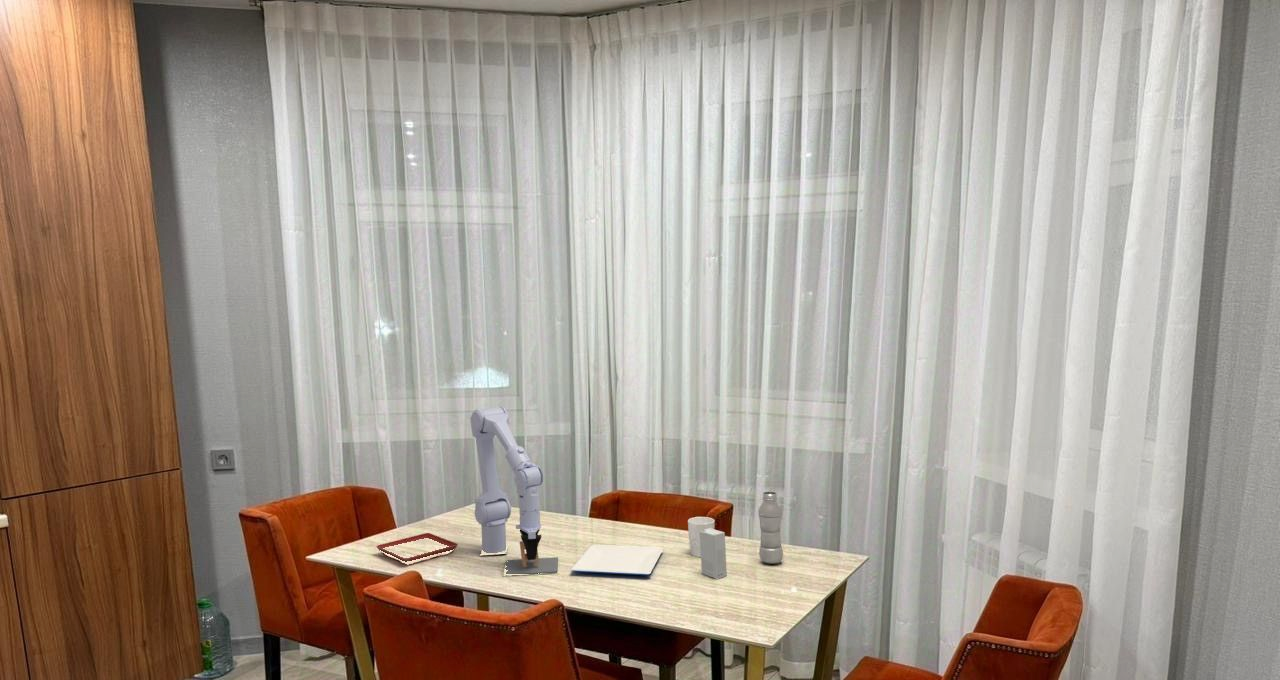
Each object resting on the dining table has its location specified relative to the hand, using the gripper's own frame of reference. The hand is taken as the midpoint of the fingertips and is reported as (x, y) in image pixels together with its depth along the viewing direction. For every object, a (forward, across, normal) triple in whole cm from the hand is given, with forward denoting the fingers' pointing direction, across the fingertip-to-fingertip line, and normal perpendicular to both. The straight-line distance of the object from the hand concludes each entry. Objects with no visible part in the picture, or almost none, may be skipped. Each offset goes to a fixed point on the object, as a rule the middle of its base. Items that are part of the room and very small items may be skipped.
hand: (531, 556), depth 214 cm
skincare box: (+3, +20, +48) cm, 52 cm away
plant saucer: (+4, -22, -33) cm, 40 cm away
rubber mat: (+3, 0, 0) cm, 3 cm away
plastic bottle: (+3, +15, +67) cm, 68 cm away
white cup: (+3, +2, +50) cm, 50 cm away
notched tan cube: (+2, 0, 0) cm, 2 cm away
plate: (+4, +4, +25) cm, 25 cm away
